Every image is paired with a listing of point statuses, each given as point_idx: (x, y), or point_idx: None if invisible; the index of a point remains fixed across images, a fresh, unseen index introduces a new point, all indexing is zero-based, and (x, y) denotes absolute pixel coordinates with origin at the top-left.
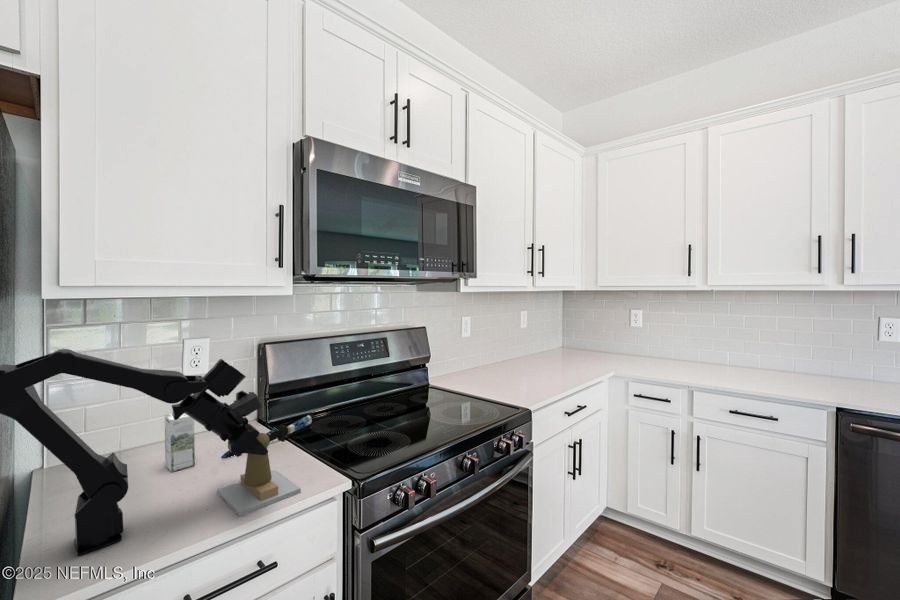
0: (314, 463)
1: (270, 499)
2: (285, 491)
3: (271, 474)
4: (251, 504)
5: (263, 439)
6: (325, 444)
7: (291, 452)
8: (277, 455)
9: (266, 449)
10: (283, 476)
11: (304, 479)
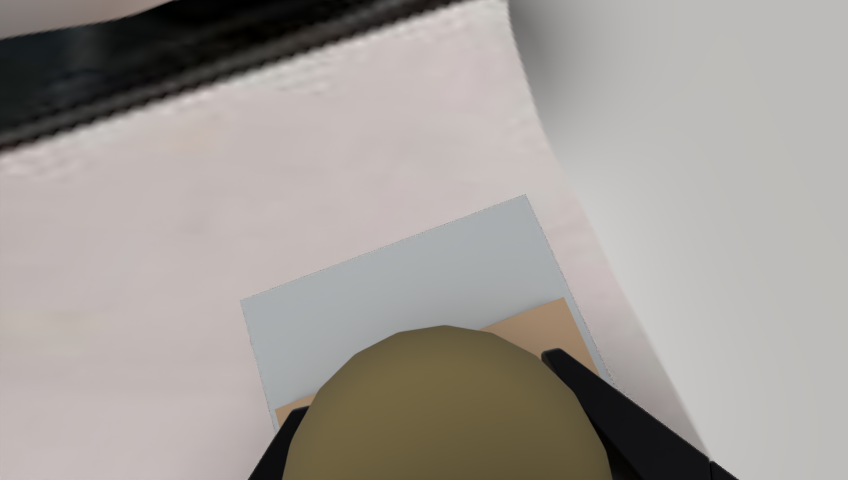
0: (235, 111)
1: (591, 342)
2: (530, 265)
3: (291, 323)
4: None
5: (581, 419)
6: (31, 36)
7: (21, 204)
8: (12, 278)
9: (585, 368)
10: (350, 263)
11: (392, 172)
